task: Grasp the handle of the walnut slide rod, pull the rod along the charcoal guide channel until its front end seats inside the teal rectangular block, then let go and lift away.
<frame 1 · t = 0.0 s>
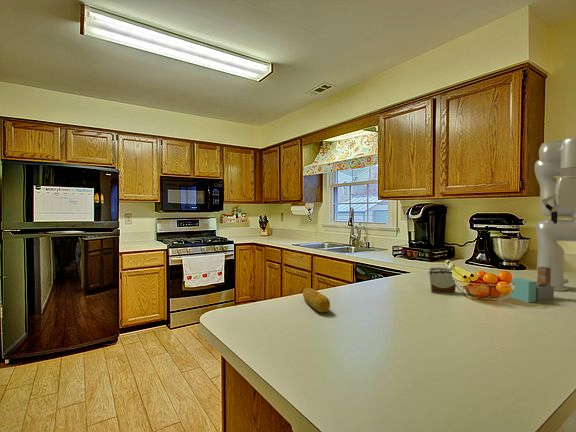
hand: (573, 223, 109), 31 cm above the worktop, tool pointing down, fingers open, 9 cm apart
food container: (440, 292, 139), on the worktop
teal rectangular block: (522, 299, 128), on the worktop
guide channel: (538, 297, 131), on the worktop
slide rod: (540, 278, 131), point 8 cm above the worktop, slide at 0.0 cm
food: (314, 306, 117), on the worktop
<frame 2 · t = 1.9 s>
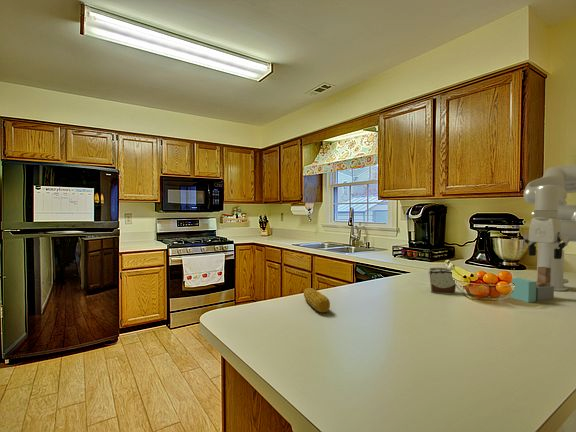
hand: (544, 257, 131), 17 cm above the worktop, tool pointing down, fingers open, 9 cm apart
nothing on the worktop moved.
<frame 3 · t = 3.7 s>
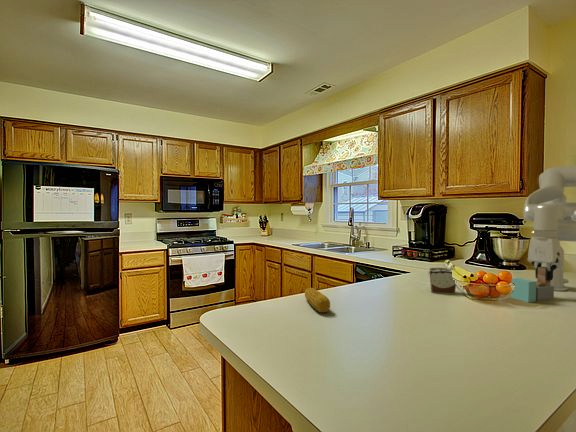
hand: (543, 278, 131), 8 cm above the worktop, tool pointing down, fingers closed on slide rod, 3 cm apart
slide rod: (540, 278, 131), point 8 cm above the worktop, slide at 0.0 cm, touching gripper
everything else where it was.
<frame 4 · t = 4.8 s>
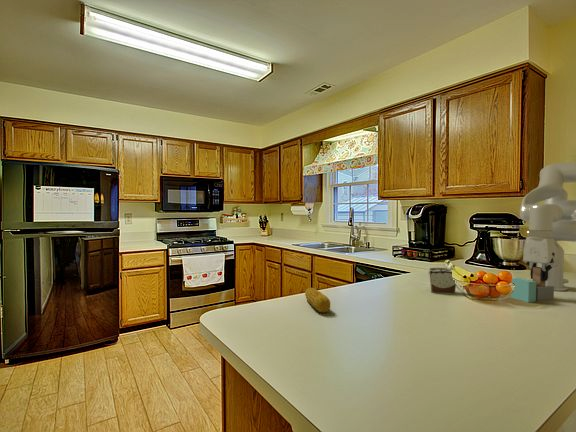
hand: (538, 279, 131), 8 cm above the worktop, tool pointing down, fingers closed on slide rod, 3 cm apart
slide rod: (535, 278, 130), point 8 cm above the worktop, slide at 2.9 cm, touching gripper
everything else where it was.
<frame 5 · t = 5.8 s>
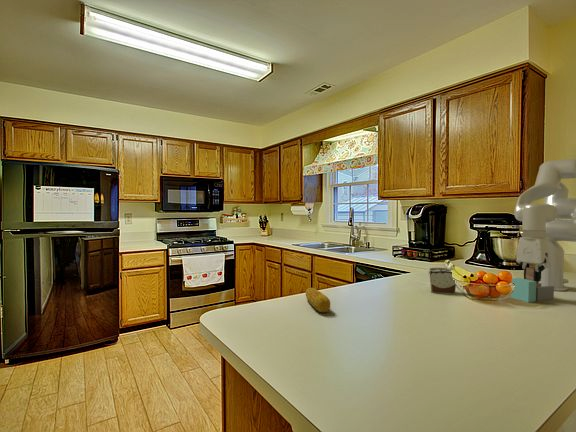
hand: (532, 279, 129), 8 cm above the worktop, tool pointing down, fingers closed on slide rod, 3 cm apart
slide rod: (528, 279, 129), point 8 cm above the worktop, slide at 6.7 cm, touching gripper
everything else where it was.
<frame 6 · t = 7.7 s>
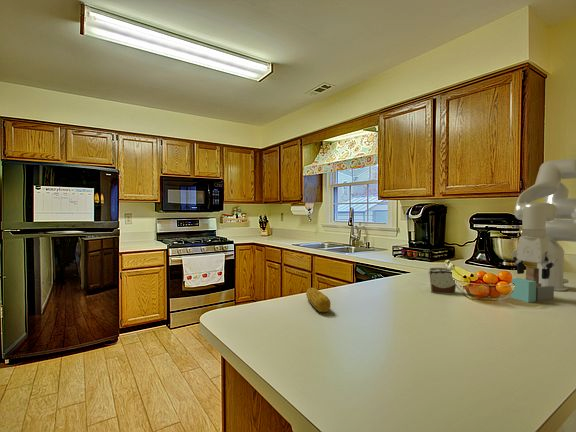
hand: (532, 276, 130), 9 cm above the worktop, tool pointing down, fingers open, 9 cm apart
slide rod: (528, 279, 129), point 8 cm above the worktop, slide at 6.7 cm
everything else where it was.
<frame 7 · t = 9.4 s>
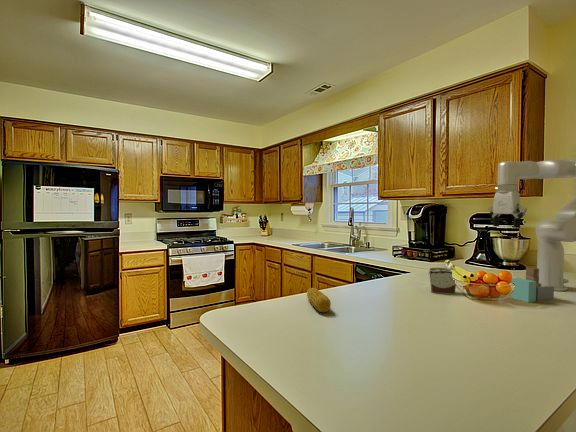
hand: (506, 226, 145), 28 cm above the worktop, tool pointing down, fingers open, 9 cm apart
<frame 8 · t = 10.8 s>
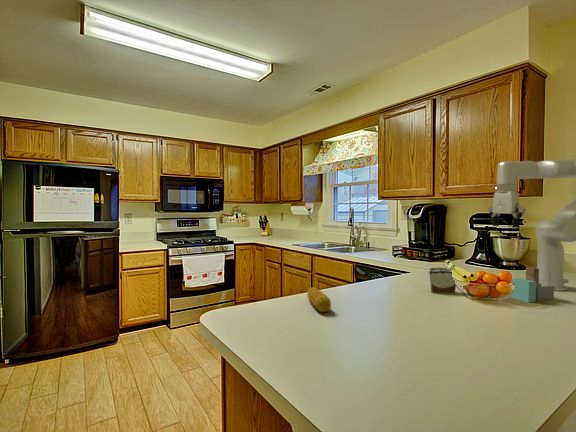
hand: (505, 226, 146), 28 cm above the worktop, tool pointing down, fingers open, 9 cm apart
at the end: slide rod slide at 6.7 cm; the gripper is holding nothing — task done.
